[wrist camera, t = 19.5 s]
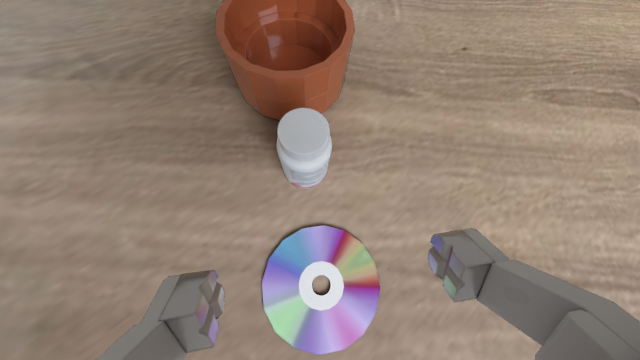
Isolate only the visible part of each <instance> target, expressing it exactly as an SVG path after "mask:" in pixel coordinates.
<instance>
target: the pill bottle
mask: <svg viewBox="0 0 640 360" xmlns="http://www.w3.org/2000/svg"><path fill="white" fill-rule="evenodd" d="M277 135H278V138H277V153H278V156H279V159H280V162H281V165H282V168H283V171H284V174H285V176H286V178H287V179H288V181H289V182H290V183H291V184H293V185H294V186H297V187H299V188H311V187H314V186H316V185H318V184H319V183H321V182H322V180H323V179H324V178H325V176H326V173H327V169H328V164H329V159H330V155H331V151H332V141H331V137H330V128H329V124H328V122H327V120H326V119H325V117H324V116H323V115H322V114H321V113H319V112H318V111H316V110H313V109H310V108H297V109H294V110H291V111H289V112H288V113H286V114H285V115H284V116H283V117H282V119H281V120H280V122H279V124H278V128H277Z"/></svg>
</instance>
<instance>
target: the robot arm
mask: <svg viewBox="0 0 640 360" xmlns="http://www.w3.org/2000/svg"><path fill="white" fill-rule="evenodd" d="M431 243H432V244H433V247H432V248H431V249H430V250H429V252H428V261H429V265H430V267H431V269H432V271H433V272H434V274H435V275H436V276H438V277H439V278H441V279H443V287H444V288H445V290H446V291H447V293H448V294H449V295H450V297H451V298H452V300H453V301H454V302H458V301H465V300H471V299H477V300H478V301H479V302H481V303H482V304H484V305H485V306H486V307H488V308H489V309H491V310H492V311H494V312H495V313H496V314H498V315H499V316H501V317H502V318H504V319H505V320H506V321H508V322H509V323H511V324H512V325H513V326H515V327H516V328H518V329H519V330H521V331H522V332H523V333H525V334H526V335H528V336H529V337H531V338H532V339H533V340H535V341H536V342H538V343H539V344H541V345H542V347H541V348H540V350H539V351H538V352H537V354H536V355H535V360H640V322H639V321H638V320H637V319H635V318H634V317H633V316H631V315H630V314H629V313H627V312H626V311H625V310H623V309H622V308H621V307H619V306H618V305H617V304H615V303H614V302H612V301H610V300H608V299H605V298H603V297H601V296H598V295H596V294H594V293H591V292H589V291H587V290H584V289H582V288H580V287H577V286H575V285H573V284H570V283H568V282H566V281H563V280H561V279H559V278H557V277H554V276H552V275H550V274H547V273H545V272H543V271H540V270H538V269H536V268H533V267H531V266H529V265H526V264H524V263H522V262H519V261H517V260H515V259H514V260H510V259H509V258H508V257H507V256H505V255H504V254H503V253H502V252H501V251H500V250H499V249H498V248H496V247H495V246H494V245H493V244H492V243H491V242H490V241H489V240H487V239H486V238H485V237H484V236H483V235H482V234H481V233H480V232H478V231H477V230H476V229H474V228H469V229H463V230H459V231H458V230H456V231H450V232H445V233H439V234H434V235H433V236H432V238H431ZM217 278H218V275H217V273H216V271H215V270H208V271H201V272H194V273H186V274H180V275H173V276H168V277H167V278H166V279H164V281H163V282H162V284H161V286H160V288H159V290H158V291H157V293H156V295H155V297H154V299H153V301H152V302H151V304H150V306H149V308H148V310H147V312H146V313H145V315H144V317H143V319H142V321H141V322H140V324H139V325H135V326H133V327H132V328H131V329H130V330H129V331H128V332H126V333H125V334H124V335H123V336H122V337H121V338H120V339H119V340H117V341H116V342H115V343H114V344H113V345H112V346H111V347H109V348H108V349H107V350H106V351H105V352H104V353H103V354H102V355H100V356H99V357H98V358H97V359H96V360H183V359H184V358H185V357H186V355H187V353H189V352H193V351H198V350H202V349H207V348H212V347H214V345H215V341H216V337H217V333H218V329H219V324H218V322H217V318H218V317H219V316H220V315H221V314H222V312H223V308H224V299H225V295H224V289H223V287H222V285H221V284H219V283H218V282H217Z"/></svg>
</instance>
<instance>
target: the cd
mask: <svg viewBox="0 0 640 360" xmlns="http://www.w3.org/2000/svg"><path fill="white" fill-rule="evenodd" d="M318 275H324V276H326V277H327V278H329V280H330V283H331V287H330V290H329V292H328V293H327V294H325V295H317V294H316V293H315V292H314V291H313V289H312V282H313V280H314V278H315V277H317V276H318ZM262 291H263V305H264V310H265V312H266V314H267V316H268V318H269V320H270V322H271V324H272V326H273V328H274V330H275V332H276V333H277V334H278V335H280V336H281V337H282V338H283V339H284V340H285V341H287V342H288V343H289V344H290V345H291V346H292V347H294V348H295V349H299V350H303V351H306V352H310V353H314V354H317V355H320V354H325V353H330V352H335V351H340V350H344V349H345V348H346V347H348V346H349V345H350V344H352V343H353V342H354V341H356V340H357V339H358V338H360V337H361V336H362V335H363V334H364V333H365V331H366V329H367V328H368V326H369V324H370V322H371V321H372V319H373V317H374V316H375V314H376V310H377V304H378V297H379V291H380V286H379V281H378V276H377V271H376V266H375V263H374V261H373V260H372V258H371V257H370V255H369V253H368V252H367V250H366V249H365V247H364V245H363V244H362V243H361V242H359V241H358V240H357V239H355V238H354V237H353V236H351V235H350V234H349V233H347V232H346V231H344V230H340V229H337V228H333V227H329V226H325V225H322V226H315V227H309V228H302V229H301V230H299V231H297V232H296V233H294V234H292V235H291V236H289V237H287V238H286V239H284V240H283V241H282V242H281V244H280V245H279V246H278V248H277V249H276V250H275V251H274V253H273V254H272V255H271V257H270V258H269V260H268V264H267V267H266V270H265V274H264V277H263V281H262Z"/></svg>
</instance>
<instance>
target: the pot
mask: <svg viewBox="0 0 640 360" xmlns="http://www.w3.org/2000/svg"><path fill="white" fill-rule="evenodd" d="M354 33H355V27H354V21H353V14H352V10H351V8H350V6H349V5H348V4H347V2H346V1H345V0H224V1H223V3H222V4H221V6H220V7H219V9H218V11H217V15H216V30H215V34H216V36H217V39H218V41H219V43H220V45H221V48H222V50H223V52H224V55H225V57H226V59H227V61H228V63H229V66H230V68H231V70H232V73H233V75H234V77H235V79H236V82H237V84H238V86H239V88H240V90H241V92H242V94H243V96H244V99H245V101H246V102H247V103H248V104H250V105H251V106H252V107H253V108H255V109H256V110H257V111H258V112H259V113H261V114H262V115H265V116H268V117H271V118H275V119H278V120H281V119H282V117H283V116H284V115H285V114H286V113H288V112H289V111H291V110H294V109H297V108H310V109H313V110H316V111H318V112H319V113H323V112H325V111H326V110H327V109H328V108H329V107H330V106H331V105H332V104H333V103H334V102H335V101H336V100H337V99H338V98H339V95H340V93H341V90H342V87H343V84H344V81H345V76H346V72H347V67H348V62H349V57H350V52H351V47H352V43H353V38H354Z"/></svg>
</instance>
